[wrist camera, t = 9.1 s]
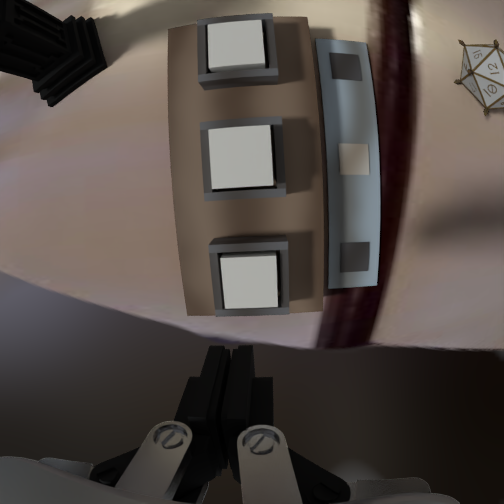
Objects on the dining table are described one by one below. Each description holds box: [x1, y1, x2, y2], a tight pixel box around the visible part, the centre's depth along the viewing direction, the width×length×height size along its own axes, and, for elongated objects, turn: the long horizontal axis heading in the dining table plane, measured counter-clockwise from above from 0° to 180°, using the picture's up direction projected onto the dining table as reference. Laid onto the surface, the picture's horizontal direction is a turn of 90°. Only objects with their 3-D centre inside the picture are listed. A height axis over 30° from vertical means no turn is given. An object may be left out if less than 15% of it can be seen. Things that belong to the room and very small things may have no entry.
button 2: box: [208, 20, 265, 73], centre depth 19 cm, size 4×4×2 cm
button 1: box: [220, 250, 278, 309], centre depth 23 cm, size 4×4×2 cm
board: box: [168, 13, 380, 317], centre depth 22 cm, size 18×26×5 cm
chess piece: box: [0, 0, 107, 107], centre depth 13 cm, size 8×8×20 cm
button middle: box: [208, 125, 273, 189], centre depth 20 cm, size 4×4×2 cm
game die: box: [454, 40, 504, 116], centre depth 17 cm, size 9×8×10 cm
